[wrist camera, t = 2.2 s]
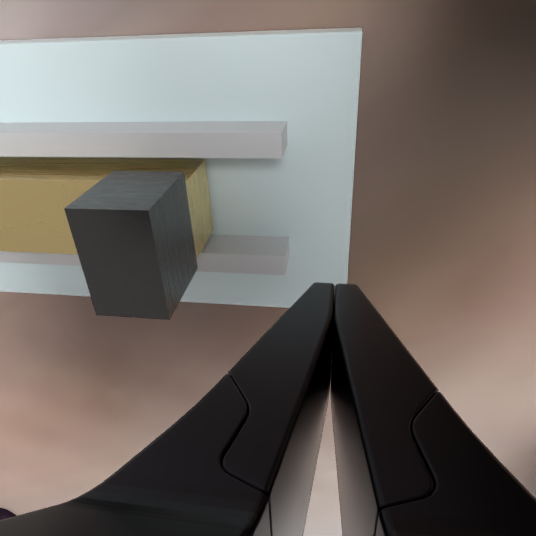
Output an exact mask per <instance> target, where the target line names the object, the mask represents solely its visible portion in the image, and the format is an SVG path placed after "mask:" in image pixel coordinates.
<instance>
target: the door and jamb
mask: <svg viewBox="0 0 536 536" xmlns="http://www.w3.org/2000/svg"><path fill="white" fill-rule="evenodd" d="M361 47H362V29H361V27H356V28H328V29H301V30H273V31H246V32H218V33H191V34H163V35H136V36H108V37H81V38H53V39H26V40H0V157H11V158H147V159H205V160H206V168H207V177H208V186H209V194H210V203H211V211H212V220H213V229H214V230H213V231H212V233H211V235H210V237H209V238H208V240H207V242H206V244H205V245H204V247H203V249H202V251H201V253H200V254H199V256H198V258H197V266H198V269H197V271H196V272H195V274H194V276H193V278H192V280H191V282H190V283H189V285H188V287H187V289H186V291H185V293H184V294H183V296H182V298H181V300H180V302H195V303H213V304H230V305H247V306H265V307H282V308H290V307H291V306H292V305H293V304H294V303H295V302H296V301H297V300H298V299H299V298H300V297H301V296H302V294H303V293H304V292H305V291H306V290H307V289H308V288H309V287H310V286H311V285H312V284H313V283H315V282H322V283H333V284H334V285H335V286H336V284H339V283H342V284H347V277H348V261H349V244H350V228H351V211H352V195H353V178H354V162H355V145H356V129H357V113H358V96H359V80H360V63H361ZM0 291H4V292H21V293H38V294H56V295H73V296H90V293H89V289H88V286H87V283H86V280H85V276H84V273H83V270H82V266H81V263H80V260H79V256H78V255H77V254H54V253H30V252H7V251H0ZM334 298H335V296H334Z"/></svg>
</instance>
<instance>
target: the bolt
mask: <svg viewBox="0 0 536 536" xmlns="http://www.w3.org/2000/svg"><path fill="white" fill-rule="evenodd" d="M213 230H214V229H213V220H212V211H211V203H210V194H209V186H208V177H207V168H206V160H205V159H147V158H11V157H0V251H7V252H30V253H54V254H77V255H78V256H79V260H80V263H81V266H82V270H83V273H84V276H85V280H86V283H87V286H88V289H89V293H90V296H91V299H92V303H93V306H94V309H95V313H96V315H105V316H120V317H136V318H151V319H167V320H170V318H171V317H172V315H173V313H174V311H175V309H176V307H177V305H178V304H179V302H180V300H181V298H182V296H183V294H184V293H185V291H186V289H187V287H188V285H189V283H190V282H191V280H192V278H193V276H194V274H195V272H196V271H197V269H198V266H197V258H198V256H199V254H200V253H201V251H202V249H203V247H204V245H205V244H206V242H207V240H208V238H209V237H210V235H211V233H212V231H213Z"/></svg>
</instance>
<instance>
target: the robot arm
mask: <svg viewBox="0 0 536 536" xmlns="http://www.w3.org/2000/svg"><path fill="white" fill-rule="evenodd" d="M334 296H335V298H334ZM331 360H332V363H331ZM330 380H331V408H332V420H333V431H334V443H335V454H336V466H337V478H338V489H339V501H340V512H341V524H342V536H536V498H535V497H534V496H533V495H532V494H531V493H530V492H529V491H528V490H527V489H526V488H525V487H524V486H523V485H522V484H521V483H520V482H519V481H518V480H517V478H516V477H515V476H514V475H513V474H512V473H511V472H510V471H509V470H508V469H507V468H506V467H505V466H504V465H503V464H502V463H501V462H500V461H499V460H498V459H497V458H496V457H495V456H494V455H493V453H492V452H491V451H490V450H489V449H488V448H487V447H486V446H485V445H484V444H483V443H482V442H481V441H480V439H479V438H478V437H477V436H476V435H475V434H474V433H473V432H472V431H471V429H470V428H469V427H468V426H467V425H466V423H465V422H464V421H463V420H462V419H461V417H460V416H459V415H458V414H457V413H456V411H455V410H454V409H453V408H452V406H451V405H450V404H449V403H448V401H447V400H446V399H445V397H444V396H443V395H442V394H441V393H440V392H438V389H437V387H436V386H435V385H434V383H433V382H432V381H431V380H430V378H429V377H428V376H427V374H426V373H425V372H424V371H423V369H422V368H421V367H420V365H419V364H418V363H417V362H416V360H415V359H414V358H413V356H412V355H411V354H410V353H409V351H408V350H407V349H406V347H405V346H404V345H403V344H402V342H401V341H400V340H399V338H398V337H397V336H396V335H395V333H394V332H393V331H392V329H391V328H390V327H389V326H388V324H387V323H386V322H385V320H384V319H383V318H382V317H381V315H380V314H379V313H378V311H377V310H376V309H375V308H374V306H373V305H372V304H371V302H370V301H369V300H368V299H367V297H366V296H365V295H364V293H363V292H362V291H361V290H360V288H359V287H358V286H357V285H356V284H342V283H339V284H336V286H335V285H334V284H333V283H322V282H315V283H313V284H312V285H311V286H310V287H309V288H308V289H307V290H306V291H305V292H304V293H303V294H302V296H301V297H300V298H299V299H298V300H297V301H296V302H295V303H294V304H293V305H292V306H291V307H290V308H289V309H288V310H287V311H286V312H285V313H284V314H283V315H282V316H281V318H280V319H279V320H278V321H277V322H276V323H275V324H274V325H273V326H272V327H271V328H270V329H269V330H268V331H267V332H266V333H265V334H264V335H263V336H262V337H261V339H260V340H259V341H258V342H257V343H256V344H255V345H254V346H253V347H252V348H251V349H250V350H249V351H248V352H247V353H246V354H245V355H244V356H243V357H242V358H241V359H240V361H239V362H238V363H237V364H236V365H235V366H234V367H233V368H232V369H231V370H230V371H229V372H228V374H226V375H225V376H224V377H223V378H222V379H221V380H220V381H219V382H218V383H217V384H216V385H215V386H214V387H213V388H212V389H211V390H210V391H209V392H208V393H207V394H206V395H205V396H204V397H203V398H202V399H201V400H200V401H199V402H198V403H197V404H196V405H195V406H194V407H193V408H192V409H190V410H189V411H188V412H187V413H186V414H185V415H184V416H182V417H181V418H180V419H179V420H178V421H177V422H176V423H174V424H173V425H172V426H171V427H170V428H168V429H167V430H166V431H165V432H164V433H162V434H161V435H160V436H159V437H158V438H156V439H155V440H154V441H153V442H152V443H150V444H149V445H148V446H147V447H145V448H144V449H143V450H142V451H141V452H139V453H138V454H137V455H136V456H135V457H133V458H132V459H131V460H130V461H128V462H127V463H126V464H125V465H124V466H122V467H121V468H120V469H119V470H118V471H116V472H115V473H114V474H113V475H111V476H110V477H109V478H108V479H106V480H105V481H104V482H102V483H101V484H99V485H98V486H96V487H95V488H93V489H92V490H90V491H88V492H87V493H85V494H83V495H81V496H79V497H77V498H75V499H72V500H70V501H68V502H65V503H62V504H59V505H55V506H51V507H48V508H44V509H40V510H37V511H33V512H29V513H26V514H22V515H18V516H15V517H11V518H7V519H4V520H0V536H303V533H304V527H305V522H306V517H307V511H308V506H309V501H310V495H311V490H312V485H313V479H314V474H315V469H316V464H317V458H318V453H319V448H320V442H321V437H322V432H323V426H324V421H325V416H326V410H327V405H328V399H329V392H330Z"/></svg>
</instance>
